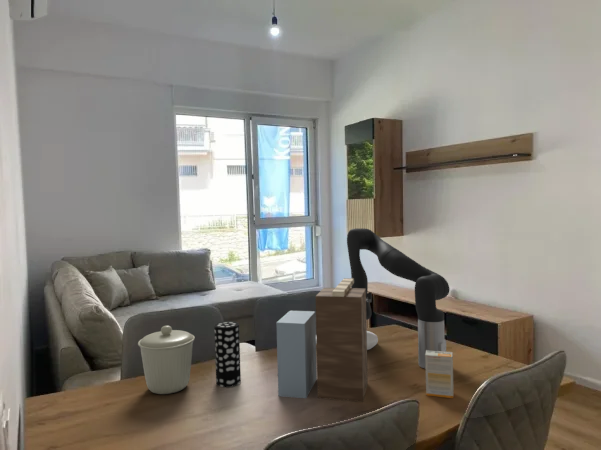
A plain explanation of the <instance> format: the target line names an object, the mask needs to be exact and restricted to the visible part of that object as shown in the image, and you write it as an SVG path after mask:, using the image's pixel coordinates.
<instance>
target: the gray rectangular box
mask: <svg viewBox="0 0 601 450" xmlns="http://www.w3.org/2000/svg"><path fill="white" fill-rule="evenodd" d="M275 323H276V351H277V353H276V354H277V356H276V357H277V361H276V362H277V393H278V397H285V398H296V399H297V398H298V399H307V398H308V395H309V394H310V392H311V391H312V389H313V387H314V385H315V383H316V381H317V344H316V310H315V311H314V310H313V311H312V310H289V311H287V313H285V314H284V315H283V316H282V317H281V318H280V319H279V320H278V321H276V322H275Z"/></svg>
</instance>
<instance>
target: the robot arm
mask: <svg viewBox="0 0 601 450" xmlns="http://www.w3.org/2000/svg"><path fill="white" fill-rule="evenodd" d="M346 244H347V245H346V246H347V252H348V259H349V266H350V275H351V277H350V278H354V284H353V285H352V286H351V288H363V289H366V321H368V320H370V319H371V317H372V314H373V313H372V308H371V304H370V303H372V300H373V299H372V295H373V294H372V292H371V291H370V292H369V291H368V290H369V289H368V288H369V287H368V283H369V282H368V281H369V280H368V275H367V272H366V270H365V267H364V266H363V264H362V260H361V255H360V253H361V250H366V251H369V252H370V253H373V254H374V255H376V256H377V260H378V262H379V265H380V266H381V267H382V268H384V269H385V270H386V271H388V272H389V273H390V274H392V275H394V276H396V277H398V278H401V279H404V280H407V281H411V282H414V283H415V284H414V301H415V302H414V303H415V311H416V313H417V339H418V340H417V341H418V342H417V345H418V346H417V348H418V351H417V352H418V354H417V355H418V356H417V358H418V359H417V360H418V366H419V367H421V368H422V369H425V370H426V367H425V354H426V350H429V351H443V352H447V339H445V312H444V311H442V310H441V309H438V308H437V302H436V301H439V300H442V299H445V298H446V297H447V296H448V295H449V294H450V284H449V283H448V280H447V279H446V278H445V277H444V276H442V275H441V274H439V273H437V272H435V271H432V270H431V269H429V268H426V267H425V266H423V265H422V264H420V263H418V262H417V261H415V259H412V258H410V257H409V256H407V255H406V254H405V253H404V252H402V251H400V250H399V249H397V248H396V247H394V246H392V245H391V244H389V243H387V242H386V241H385V240H383V239H382V238H381V237H380V236H379V235H377V234H376V233H375V232H374V231H372V230H371V229H369V228H364V227H363V228H360V227H359V228H352V229H350V230H349V231H348V232H347V236H346Z"/></svg>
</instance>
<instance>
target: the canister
mask: <svg viewBox="0 0 601 450" xmlns="http://www.w3.org/2000/svg"><path fill="white" fill-rule="evenodd" d="M194 341H195V335H194V334H192V333H190V332H188V331H185V330H181V329H180V330H179V329H178V330H177V329H173V328H172V326H170V325H163V326H162V327H161V328H160V331H155V332H152V333H150V334H147V335H145V336H143V338H141V339H139V340H138V342H137V346H138V347H139V348H140V355H141V360H142V368H143V373H144V378H145V382H146V386H147V389H148V390H149V391H150V392H151V393H153V394H158V395H170V394H173V393H179V392H180V391H182V390H184V389H185V388H186V387H187V386H188V384H189V382H190V376H191V368H192V356H193V345H194V344H193V343H194Z"/></svg>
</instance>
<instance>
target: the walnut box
mask: <svg viewBox="0 0 601 450" xmlns="http://www.w3.org/2000/svg"><path fill="white" fill-rule="evenodd" d="M335 288H336V287H323V288H322V289H321V290H320V291H319V292H318V293H316V295H315V321H316V340H317V344H316V366H317V379H316V381H317V383H316V384H317V399H326V400H334V401H335V400H337V401H349V402H362V403H363V402H364V398H365V394H366V392H367V387H368V350H367V331H368V330H367V327H368V326H367V320H366V289H363V288H350V289H349V290H348V292H347V293H346V294H345V296H344V297H332V291H333V290H334V289H335Z"/></svg>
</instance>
